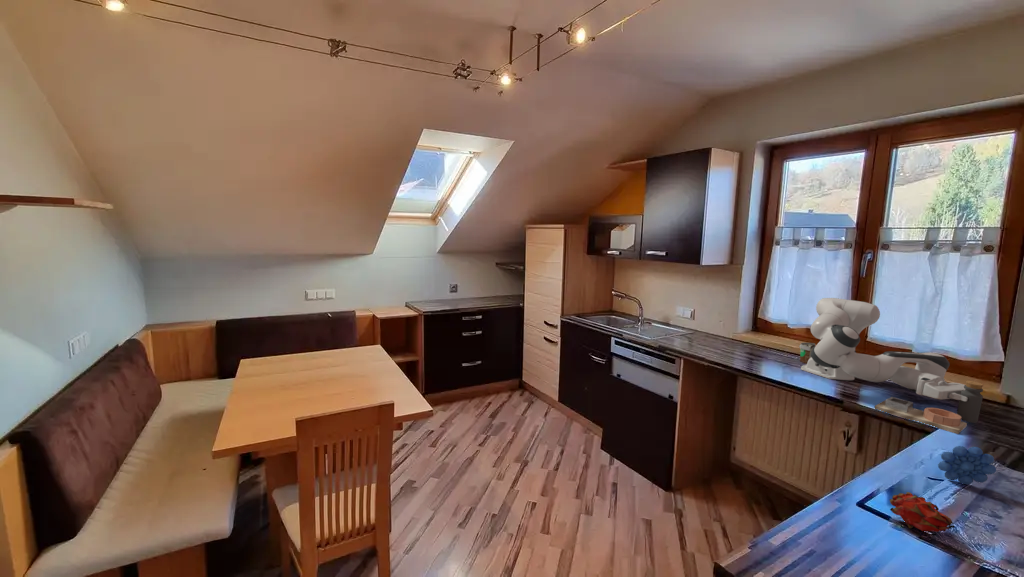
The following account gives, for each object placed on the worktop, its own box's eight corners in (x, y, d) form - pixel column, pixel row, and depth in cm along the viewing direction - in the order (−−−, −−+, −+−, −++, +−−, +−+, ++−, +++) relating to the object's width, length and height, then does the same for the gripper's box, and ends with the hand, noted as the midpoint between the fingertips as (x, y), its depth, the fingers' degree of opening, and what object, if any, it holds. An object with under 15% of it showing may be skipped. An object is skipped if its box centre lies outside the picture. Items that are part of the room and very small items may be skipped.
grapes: (987, 484, 129) (995, 446, 128) (993, 495, 124) (1002, 455, 122) (933, 470, 136) (940, 433, 134) (937, 480, 131) (944, 442, 129)
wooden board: (874, 409, 183) (874, 405, 182) (884, 403, 189) (885, 400, 189) (958, 434, 162) (958, 430, 162) (966, 426, 169) (967, 423, 169)
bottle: (981, 423, 169) (989, 386, 167) (963, 421, 170) (971, 384, 168) (969, 417, 175) (977, 380, 172) (952, 415, 176) (959, 379, 173)
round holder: (920, 418, 172) (921, 410, 171) (927, 412, 177) (929, 405, 177) (955, 428, 163) (957, 420, 163) (962, 422, 169) (964, 415, 169)
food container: (800, 358, 253) (802, 341, 252) (813, 360, 249) (815, 343, 248) (794, 362, 245) (797, 344, 243) (807, 365, 241) (810, 347, 239)
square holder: (884, 406, 182) (885, 399, 181) (890, 403, 186) (891, 396, 185) (906, 413, 176) (907, 406, 176) (912, 409, 180) (913, 402, 180)
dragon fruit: (882, 517, 115) (943, 549, 107) (882, 511, 110) (947, 545, 101) (895, 487, 117) (957, 517, 108) (896, 480, 111) (962, 511, 102)
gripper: (950, 391, 186) (992, 405, 173) (913, 394, 182) (953, 408, 168) (953, 377, 185) (995, 389, 172) (916, 379, 181) (956, 392, 167)
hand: (974, 399), depth 170 cm, fingers closed on bottle, 6 cm apart
